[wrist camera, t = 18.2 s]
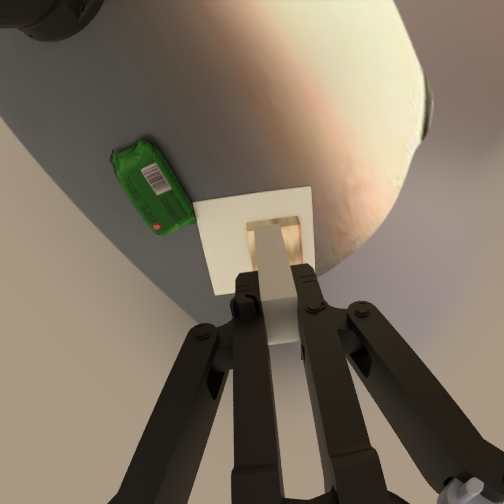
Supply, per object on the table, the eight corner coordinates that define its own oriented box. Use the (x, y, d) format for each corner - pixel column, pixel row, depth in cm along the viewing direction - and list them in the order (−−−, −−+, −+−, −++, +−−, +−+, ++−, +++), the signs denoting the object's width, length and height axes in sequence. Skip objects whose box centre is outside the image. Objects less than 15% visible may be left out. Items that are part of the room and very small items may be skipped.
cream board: (192, 201, 49) (192, 202, 48) (310, 185, 48) (310, 186, 48) (215, 293, 58) (215, 295, 58) (314, 280, 58) (315, 281, 57)
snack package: (152, 127, 43) (141, 134, 38) (203, 214, 50) (199, 229, 46) (114, 151, 44) (100, 160, 40) (165, 232, 52) (158, 249, 47)
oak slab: (246, 231, 48) (300, 224, 48) (246, 222, 51) (297, 215, 50) (255, 285, 53) (303, 278, 53) (254, 274, 56) (300, 268, 56)
